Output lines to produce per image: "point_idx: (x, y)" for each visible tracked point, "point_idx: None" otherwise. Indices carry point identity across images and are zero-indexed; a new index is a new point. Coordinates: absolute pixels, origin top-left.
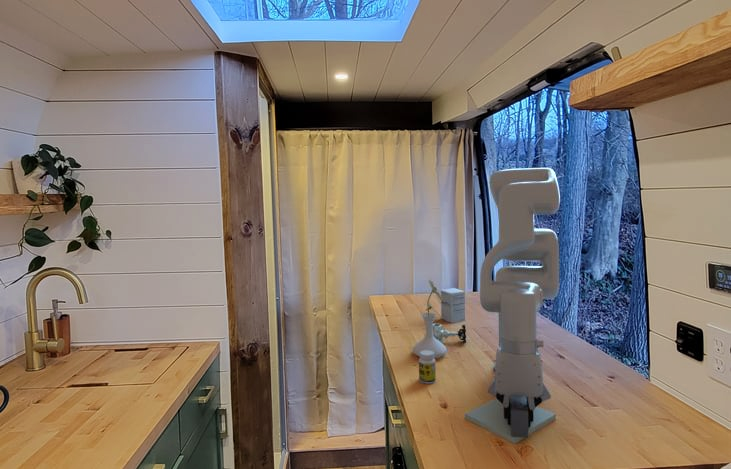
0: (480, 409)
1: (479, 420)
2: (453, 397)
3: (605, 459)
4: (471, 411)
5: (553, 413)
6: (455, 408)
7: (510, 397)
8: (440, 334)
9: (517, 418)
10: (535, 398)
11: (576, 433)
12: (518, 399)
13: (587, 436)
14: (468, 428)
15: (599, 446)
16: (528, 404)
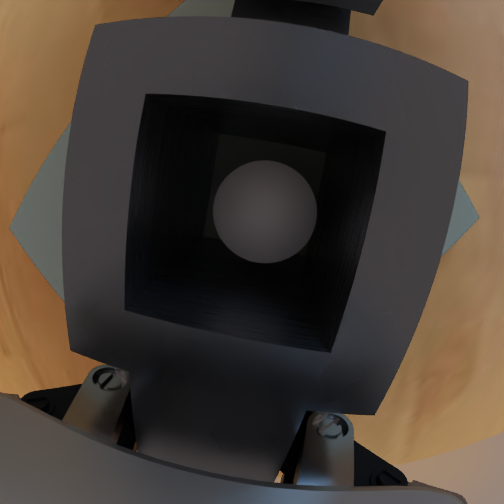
0: (58, 177)
1: (58, 291)
2: (14, 47)
3: (455, 442)
4: (27, 205)
5: (472, 210)
6: (3, 140)
7: (136, 434)
8: None
9: None
10: (356, 484)
11: (479, 333)
12: (205, 464)
13: (496, 346)
14: (43, 302)
15: (487, 394)
16: (287, 463)
